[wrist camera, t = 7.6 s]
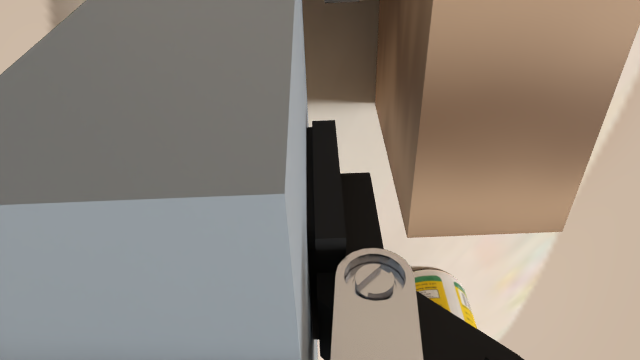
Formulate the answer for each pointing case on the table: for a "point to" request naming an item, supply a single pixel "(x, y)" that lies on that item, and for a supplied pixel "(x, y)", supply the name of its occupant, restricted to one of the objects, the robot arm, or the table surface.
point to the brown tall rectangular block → (495, 107)
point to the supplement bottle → (444, 292)
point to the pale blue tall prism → (157, 185)
